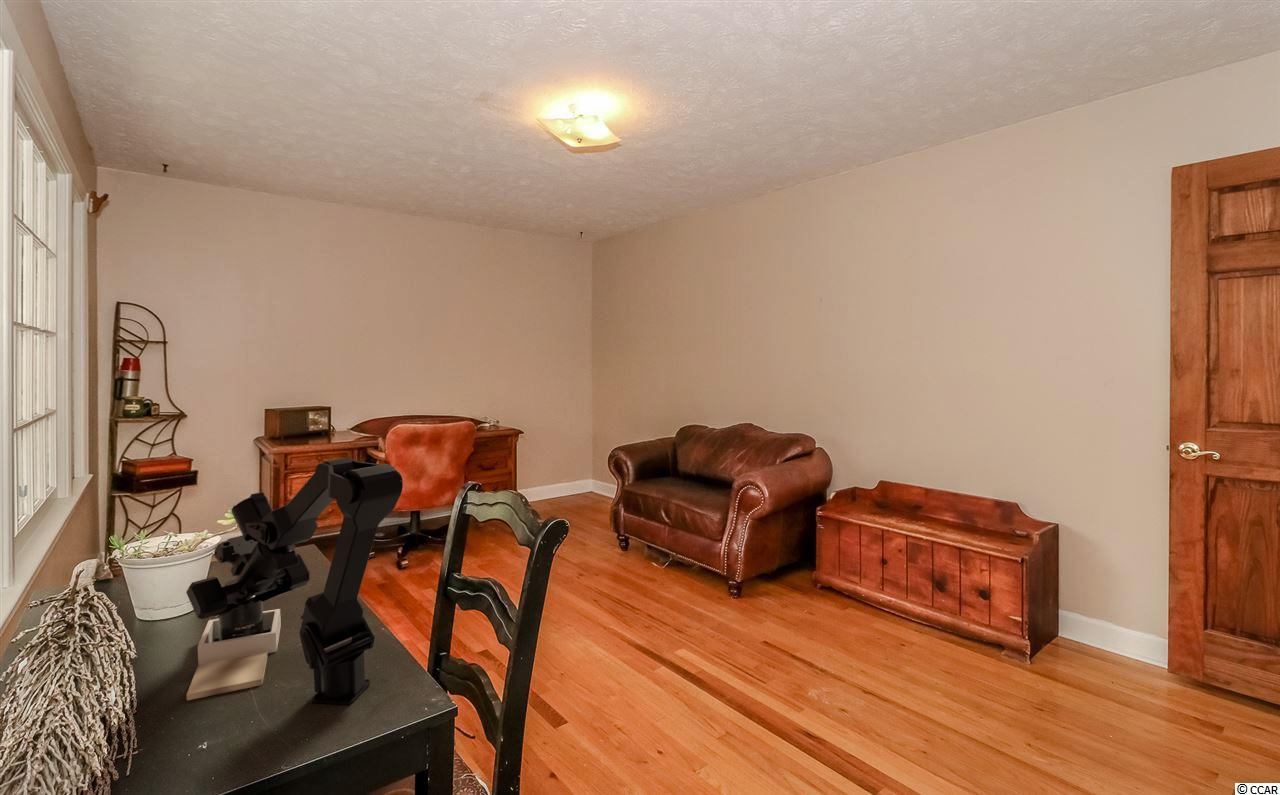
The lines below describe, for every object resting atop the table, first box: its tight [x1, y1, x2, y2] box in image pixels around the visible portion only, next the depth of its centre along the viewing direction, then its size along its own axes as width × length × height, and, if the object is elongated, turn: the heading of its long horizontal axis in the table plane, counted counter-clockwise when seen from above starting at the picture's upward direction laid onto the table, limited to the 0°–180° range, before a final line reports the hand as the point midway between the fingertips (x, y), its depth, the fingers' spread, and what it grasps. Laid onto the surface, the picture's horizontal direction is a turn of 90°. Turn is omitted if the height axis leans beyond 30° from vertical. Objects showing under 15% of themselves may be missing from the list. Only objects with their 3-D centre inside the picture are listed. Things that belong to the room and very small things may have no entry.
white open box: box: [197, 608, 282, 666], centre depth 114 cm, size 12×12×4 cm
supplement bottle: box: [218, 578, 264, 641], centre depth 113 cm, size 7×7×12 cm
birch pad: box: [186, 652, 268, 701], centre depth 102 cm, size 10×10×1 cm
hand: (237, 608), depth 114 cm, fingers closed on supplement bottle, 7 cm apart
